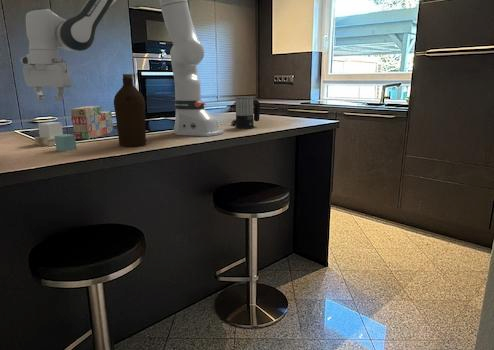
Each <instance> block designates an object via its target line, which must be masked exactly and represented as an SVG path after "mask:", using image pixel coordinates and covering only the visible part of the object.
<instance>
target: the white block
mask: <svg viewBox="0 0 494 350" xmlns="http://www.w3.org/2000/svg"><path fill="white" fill-rule="evenodd" d="M37 127H38V133H39V137H42V138H54V136H57V135H63V134H64V131H63V126H62V122H57V121H49V122H48V121H47V122H41V123H37Z"/></svg>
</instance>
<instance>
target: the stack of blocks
mask: <svg viewBox="0 0 494 350" xmlns="http://www.w3.org/2000/svg"><path fill="white" fill-rule="evenodd" d="M70 112H71V122H72V130H73V135H75V139H76V140H91V139H90V138H92V139H95V138H98V137H101V136H104V135H106V134H111V133H114V132H115V130H114V120H113V113H112V111H107V110H105V111H102V107H101V106H99V105H96V106H95V105H91V106H90V105H86V106H79V107H75V108H71V109H70ZM94 137H95V138H94Z"/></svg>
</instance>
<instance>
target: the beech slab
mask: <svg viewBox="0 0 494 350" xmlns="http://www.w3.org/2000/svg"><path fill="white" fill-rule="evenodd" d="M33 138H34V144H35V145H37V146H46V147H52V146H51V145H53V146H56V145H55V137H54V138H42V137H40V136H36V137H33Z"/></svg>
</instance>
